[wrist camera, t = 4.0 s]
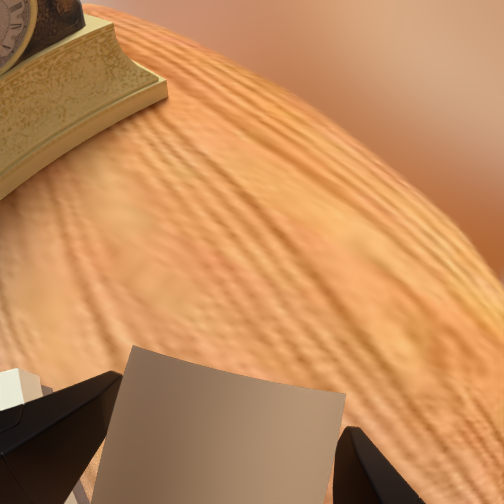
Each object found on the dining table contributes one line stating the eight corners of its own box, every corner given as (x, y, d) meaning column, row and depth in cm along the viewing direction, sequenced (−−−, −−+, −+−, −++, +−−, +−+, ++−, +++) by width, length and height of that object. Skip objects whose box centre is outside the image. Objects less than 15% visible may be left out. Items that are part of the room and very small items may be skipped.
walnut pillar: (280, 410, 15) (345, 393, 6) (261, 491, 12) (298, 580, 4) (192, 390, 15) (132, 345, 6) (171, 470, 13) (86, 527, 4)
